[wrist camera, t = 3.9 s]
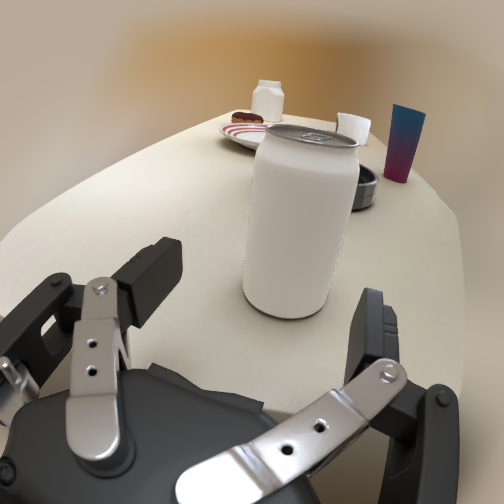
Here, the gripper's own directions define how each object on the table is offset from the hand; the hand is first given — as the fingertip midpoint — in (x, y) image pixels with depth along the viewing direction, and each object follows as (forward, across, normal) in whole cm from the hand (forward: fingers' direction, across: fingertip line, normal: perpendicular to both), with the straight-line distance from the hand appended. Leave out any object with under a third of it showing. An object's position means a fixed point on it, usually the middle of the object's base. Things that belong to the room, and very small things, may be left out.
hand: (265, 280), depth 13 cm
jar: (+102, +27, +7) cm, 105 cm away
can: (+8, 0, +7) cm, 11 cm away
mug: (+88, -4, +7) cm, 88 cm away
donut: (+81, +27, +7) cm, 86 cm away
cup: (+52, -14, +7) cm, 55 cm away
